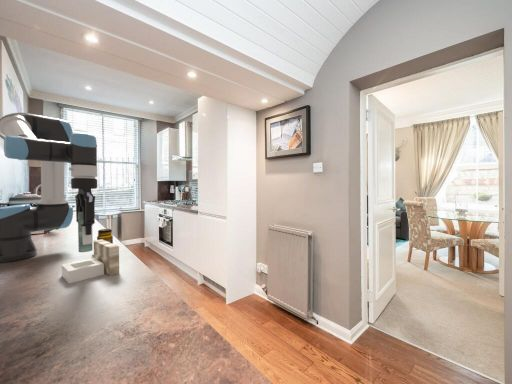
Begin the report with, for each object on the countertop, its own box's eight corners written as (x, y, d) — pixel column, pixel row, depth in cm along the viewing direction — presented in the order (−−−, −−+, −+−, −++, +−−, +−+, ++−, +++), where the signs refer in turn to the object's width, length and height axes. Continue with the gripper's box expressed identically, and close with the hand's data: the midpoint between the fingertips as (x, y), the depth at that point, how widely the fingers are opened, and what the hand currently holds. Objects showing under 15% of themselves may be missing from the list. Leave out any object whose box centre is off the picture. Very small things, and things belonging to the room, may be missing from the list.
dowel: (77, 250, 82) (76, 211, 82) (90, 248, 85) (89, 211, 85) (80, 252, 79) (79, 212, 79) (94, 250, 83) (93, 211, 82)
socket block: (61, 276, 81) (61, 264, 81) (94, 268, 89) (94, 258, 89) (68, 283, 75) (68, 271, 75) (104, 274, 83) (103, 263, 82)
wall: (93, 265, 92) (93, 240, 92) (102, 263, 94) (102, 239, 94) (110, 275, 82) (109, 247, 81) (119, 273, 84) (118, 246, 84)
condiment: (114, 256, 104) (113, 230, 104) (91, 259, 100) (90, 232, 99) (113, 252, 110) (113, 227, 110) (92, 255, 106) (91, 229, 106)
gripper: (64, 178, 84) (66, 241, 85) (78, 176, 74) (80, 249, 74) (89, 178, 90) (90, 238, 90) (105, 177, 79) (106, 244, 80)
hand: (85, 242), depth 82 cm, fingers closed on dowel, 4 cm apart
